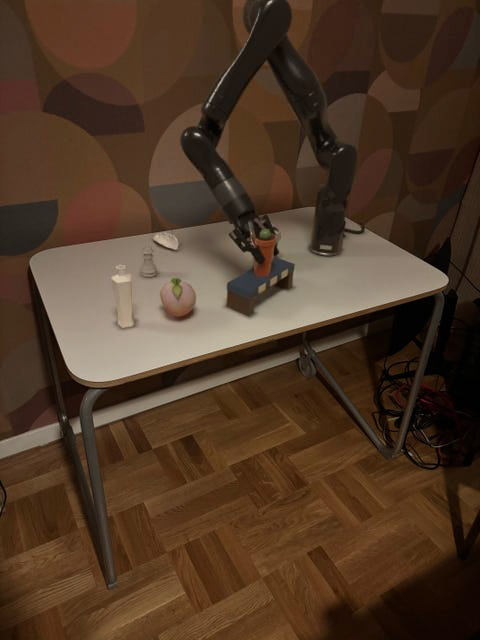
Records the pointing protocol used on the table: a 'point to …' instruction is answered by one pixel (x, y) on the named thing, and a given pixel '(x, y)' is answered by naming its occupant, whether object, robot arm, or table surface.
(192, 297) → the decorative fruit
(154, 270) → the rook chess piece
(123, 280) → the perfume bottle
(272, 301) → the table surface
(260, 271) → the pot
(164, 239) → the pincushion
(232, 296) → the dark blue bench
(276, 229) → the wedge shaped tart
